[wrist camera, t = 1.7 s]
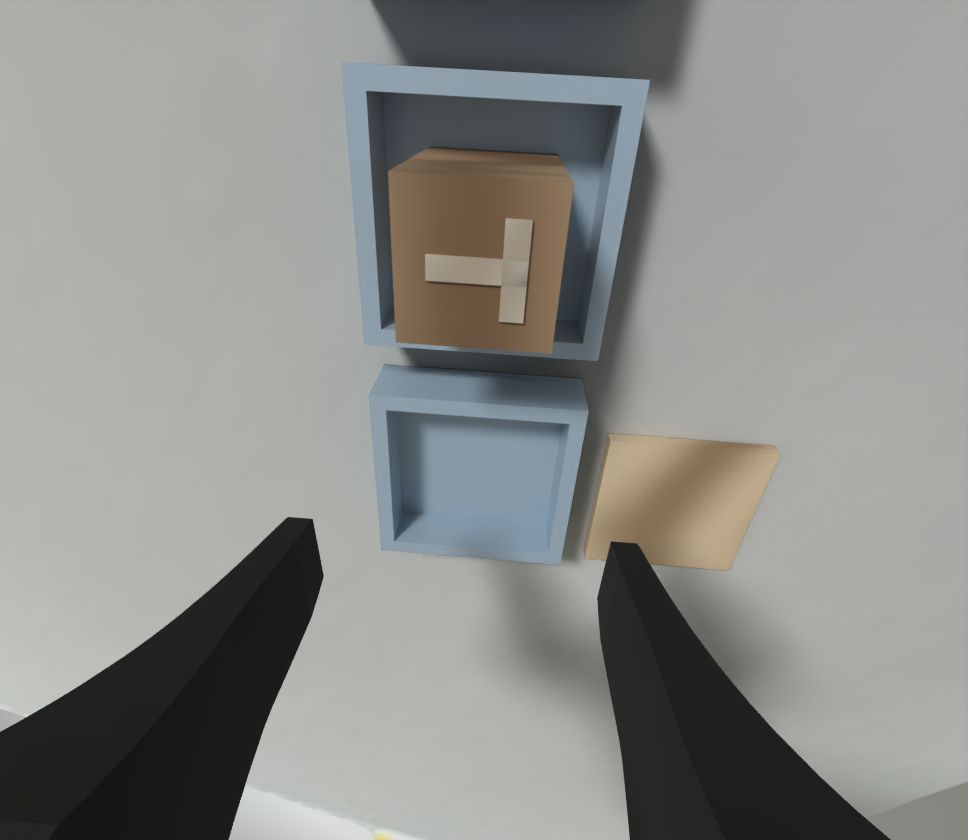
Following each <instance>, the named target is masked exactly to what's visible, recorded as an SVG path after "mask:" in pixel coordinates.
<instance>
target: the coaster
mask: <svg viewBox="0 0 968 840" xmlns="http://www.w3.org/2000/svg"><path fill="white" fill-rule="evenodd" d="M779 457H780V453H779V451H778V450H777V449H776V447H775V446H769V445H756V444H742V443H729V442H716V441H703V440H689V439H676V438H663V437H650V436H636V435H623V434H610V433H608V438H607V442H606V447H605V452H604V456H603V461H602V466H601V470H600V475H599V480H598V484H597V489H596V493H595V498H594V503H593V507H592V512H591V517H590V521H589V526H588V531H587V535H586V540H585V545H584V549H583V550H584V557H585V559H595V560H607V555H608V551H609V547H610V543H611V541H613V542H626V543H637V544H638V545H639V546H640V548H641V549H642V551H643V553H644V555H645V557H646V558H647V560H648V562H649V564H656V565H669V566H681V567H693V568H705V569H717V570H729V569H730V567H731V565H732V563H733V560H734V558H735V556H736V554H737V551H738V549H739V547H740V545H741V542H742V540H743V538H744V536H745V533H746V531H747V529H748V527H749V524H750V522H751V520H752V518H753V515H754V513H755V511H756V509H757V506H758V504H759V502H760V499H761V497H762V495H763V493H764V490H765V488H766V486H767V484H768V481H769V479H770V477H771V475H772V472H773V470H774V468H775V466H776V463H777V461H778V459H779Z"/></svg>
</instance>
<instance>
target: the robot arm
mask: <svg viewBox="0 0 968 840" xmlns="http://www.w3.org/2000/svg"><path fill="white" fill-rule="evenodd" d="M323 577H324V576H323V571H322V565H321V560H320V555H319V550H318V544H317V539H316V534H315V529H314V524H313V519H306V518H293V517H288V518H286V519H285V520H284V521H283V522H282V523H281V524H280V525H279V526H278V527H277V528H276V529H275V530H274V531H272V532H271V533H270V534H269V535H268V536H267V537H266V538H265V539H264V540H263V541H262V542H261V543H260V544H259V545H258V546H257V547H256V548H255V549H254V550H253V551H252V552H251V553H250V554H248V555H247V556H246V557H245V558H244V559H243V560H242V561H241V562H240V563H239V564H238V565H237V566H236V567H234V568H233V569H232V570H231V571H230V572H229V573H228V574H227V575H226V576H225V577H224V578H222V579H221V580H220V581H219V582H218V583H217V584H216V585H215V586H214V587H212V588H211V589H210V590H209V591H208V592H207V593H205V594H204V595H203V596H202V597H201V598H199V599H198V600H197V601H196V602H195V603H193V604H192V605H191V606H190V607H189V608H188V609H186V610H185V611H184V612H183V613H182V614H180V615H179V616H178V617H177V618H175V619H174V620H173V621H172V622H170V623H169V624H168V625H166V626H165V627H164V628H163V629H161V630H160V631H159V632H157V633H156V634H155V635H153V636H152V637H151V638H149V639H148V640H147V641H145V642H144V643H143V644H141V645H140V646H138V647H137V648H136V649H134V650H133V651H131V652H130V653H129V654H127V655H126V656H124V657H123V658H121V659H120V660H118V661H117V662H115V663H114V664H112V665H111V666H109V667H108V668H106V669H104V670H103V671H101V672H100V673H98V674H97V675H95V676H94V677H92V678H91V679H89V680H88V681H86V682H85V683H83V684H82V685H80V686H79V687H77V688H75V689H74V690H72V691H70V692H69V693H67V694H65V695H64V696H62V697H60V698H59V699H57V700H55V701H54V702H52V703H50V704H49V705H47V706H45V707H44V708H42V709H40V710H38V711H37V712H35V713H33V714H31V715H30V716H28V717H26V718H24V719H23V720H21V721H19V722H17V723H16V724H14V725H12V726H10V727H8V728H7V729H5V730H3V731H1V732H0V840H228V839H229V836H230V833H231V829H232V826H233V822H234V819H235V816H236V813H237V809H238V806H239V803H240V800H241V797H242V793H243V790H244V787H245V784H246V781H247V777H248V774H249V771H250V768H251V765H252V762H253V759H254V756H255V753H256V750H257V747H258V744H259V741H260V738H261V735H262V732H263V729H264V726H265V724H266V721H267V719H268V716H269V714H270V711H271V709H272V706H273V704H274V702H275V699H276V697H277V695H278V693H279V690H280V688H281V686H282V684H283V681H284V679H285V677H286V674H287V672H288V670H289V668H290V665H291V663H292V661H293V659H294V656H295V654H296V652H297V649H298V647H299V645H300V643H301V640H302V638H303V636H304V633H305V631H306V629H307V626H308V624H309V622H310V619H311V617H312V614H313V611H314V607H315V604H316V601H317V598H318V594H319V591H320V587H321V584H322V580H323ZM597 600H598V614H599V627H600V639H601V645H602V651H603V656H604V662H605V667H606V672H607V678H608V683H609V688H610V693H611V699H612V704H613V709H614V714H615V719H616V725H617V730H618V735H619V741H620V748H621V754H622V762H623V771H624V781H625V791H626V801H627V812H628V823H629V834H630V840H890V839H889V838H888V837H887V836H886V835H884V834H883V833H882V832H881V831H880V830H879V829H877V828H876V827H875V826H874V825H873V824H872V823H870V822H869V821H868V820H867V819H866V818H865V817H863V816H862V815H861V814H860V813H859V812H858V811H856V810H855V809H854V808H853V807H852V806H851V805H850V804H849V803H848V802H847V801H845V800H844V799H843V798H842V797H841V796H840V795H839V794H838V793H837V792H836V791H835V790H834V789H833V788H832V787H830V786H829V785H828V784H827V783H826V782H825V781H824V780H823V779H822V778H821V777H820V776H819V775H818V774H817V773H816V772H815V771H814V770H813V769H812V768H811V767H810V766H809V765H808V764H807V763H806V762H805V761H804V760H803V759H802V758H801V757H800V756H799V755H798V754H797V753H796V752H795V751H794V750H793V749H792V748H791V747H790V746H789V745H788V744H787V743H786V742H785V741H784V740H783V739H782V738H781V737H780V736H779V735H778V734H777V733H776V732H775V731H774V730H773V729H772V727H771V726H770V725H769V724H768V723H767V722H766V721H765V720H764V719H763V717H762V716H761V715H760V714H759V713H758V712H757V711H756V710H755V709H754V707H753V706H752V705H751V704H750V703H749V702H748V701H747V699H746V698H745V697H744V696H743V695H742V694H741V692H740V691H739V690H738V689H737V688H736V687H735V685H734V684H733V683H732V682H731V680H730V679H729V678H728V677H727V676H726V674H725V673H724V672H723V671H722V669H721V668H720V667H719V665H718V664H717V663H716V662H715V660H714V659H713V658H712V656H711V655H710V654H709V652H708V651H707V650H706V648H705V647H704V646H703V644H702V643H701V642H700V640H699V639H698V637H697V636H696V635H695V633H694V632H693V630H692V629H691V628H690V626H689V625H688V623H687V622H686V620H685V619H684V617H683V616H682V614H681V613H680V611H679V610H678V608H677V607H676V605H675V604H674V602H673V601H672V599H671V598H670V596H669V595H668V593H667V592H666V590H665V588H664V587H663V585H662V583H661V582H660V580H659V579H658V577H657V575H656V574H655V572H654V570H653V569H652V567H651V565H650V564H649V562H648V560H647V558H646V557H645V555H644V553H643V551H642V549H641V548H640V546H639V545H638V544H637V543H626V542H613V541H611V543H610V547H609V551H608V555H607V560H606V564H605V568H604V572H603V576H602V581H601V585H600V589H599V593H598V598H597Z"/></svg>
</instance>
